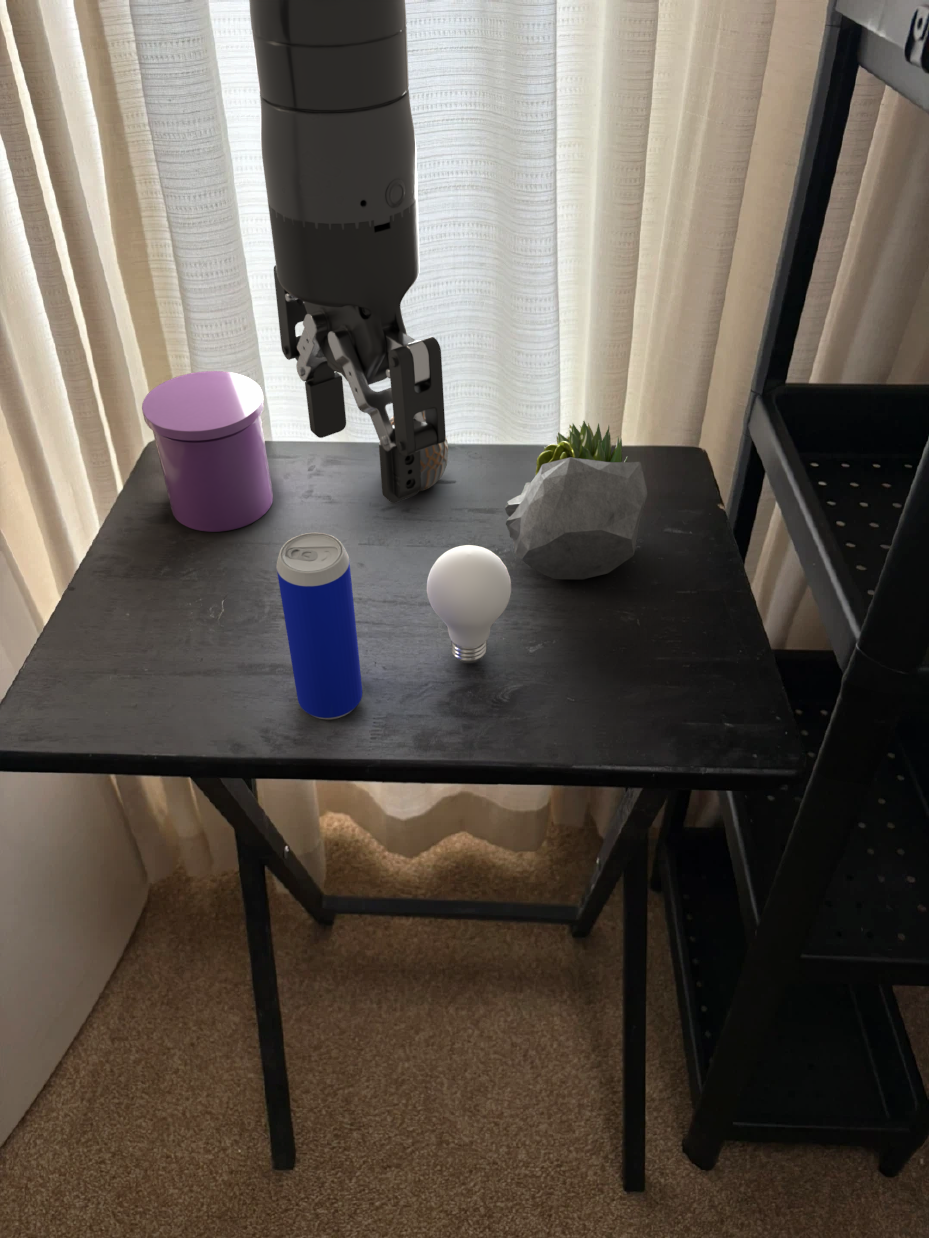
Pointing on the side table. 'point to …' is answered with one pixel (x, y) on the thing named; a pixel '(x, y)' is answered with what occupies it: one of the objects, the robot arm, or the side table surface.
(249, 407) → the jar
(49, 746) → the side table surface
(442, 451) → the vase
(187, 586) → the side table surface
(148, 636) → the side table surface
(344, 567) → the beverage can
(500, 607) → the light bulb
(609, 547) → the potted plant
